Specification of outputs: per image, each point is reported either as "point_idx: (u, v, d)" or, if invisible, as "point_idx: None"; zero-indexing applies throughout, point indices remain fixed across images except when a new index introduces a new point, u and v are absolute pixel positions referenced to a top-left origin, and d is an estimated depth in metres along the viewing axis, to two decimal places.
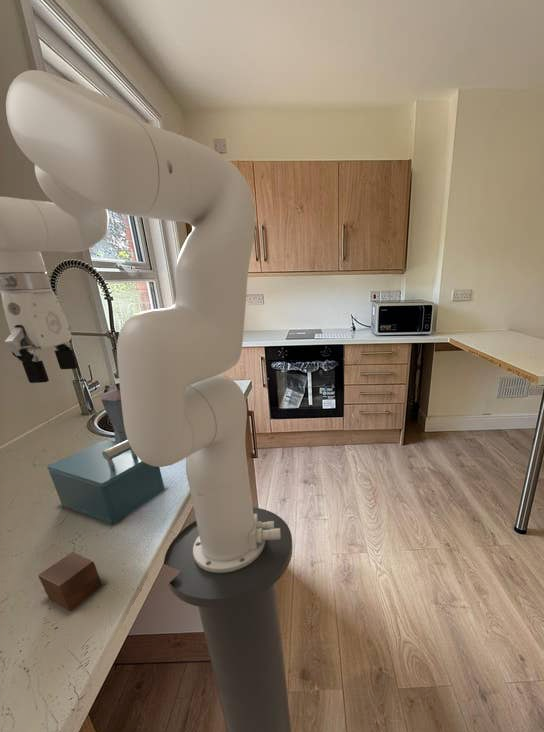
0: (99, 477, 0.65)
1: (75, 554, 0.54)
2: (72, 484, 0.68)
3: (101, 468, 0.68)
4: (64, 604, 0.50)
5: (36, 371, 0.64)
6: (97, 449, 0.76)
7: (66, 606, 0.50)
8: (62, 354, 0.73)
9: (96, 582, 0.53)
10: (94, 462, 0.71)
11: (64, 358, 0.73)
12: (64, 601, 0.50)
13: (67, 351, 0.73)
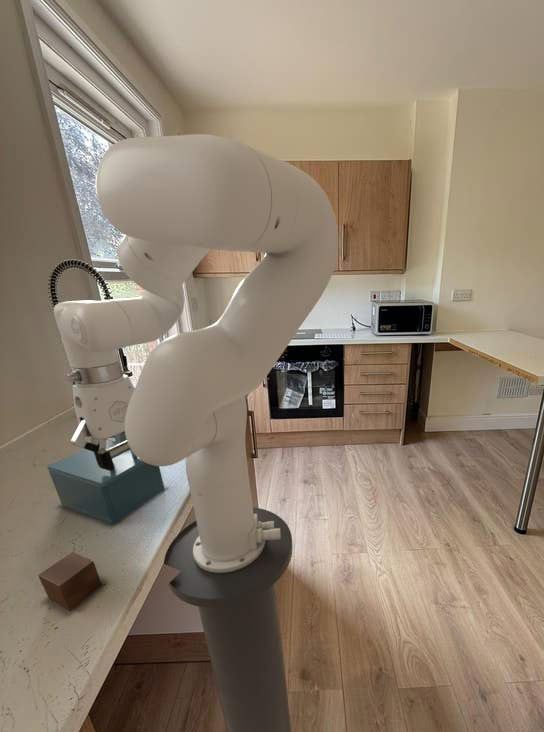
0: (99, 477, 0.65)
1: (75, 554, 0.54)
2: (72, 484, 0.68)
3: (101, 468, 0.68)
4: (64, 604, 0.50)
5: (102, 461, 0.64)
6: None
7: (66, 606, 0.50)
8: None
9: (96, 582, 0.53)
10: (94, 462, 0.71)
11: None
12: (64, 601, 0.50)
13: None
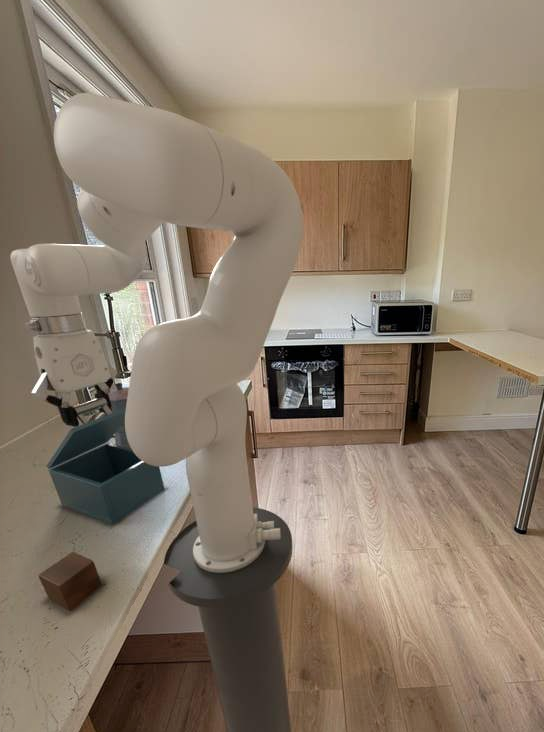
0: None
1: (75, 554, 0.54)
2: (72, 484, 0.68)
3: None
4: (64, 604, 0.50)
5: (65, 416, 0.64)
6: None
7: (66, 606, 0.50)
8: None
9: (96, 582, 0.53)
10: None
11: None
12: (64, 601, 0.50)
13: (102, 396, 0.69)
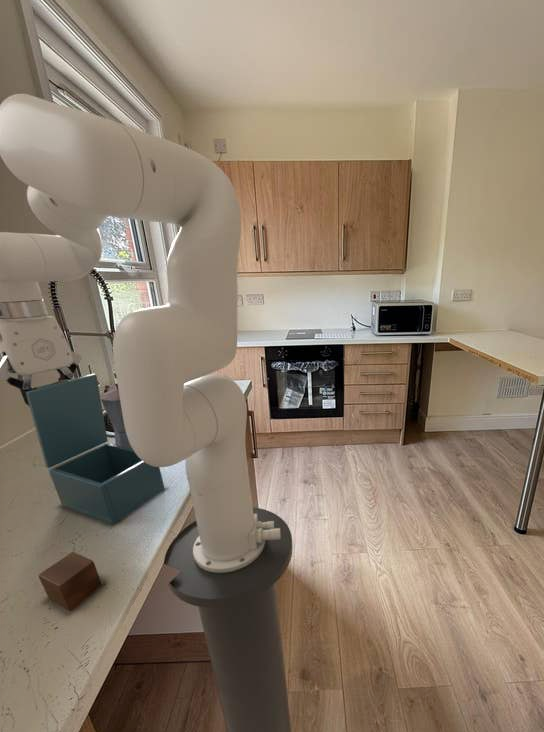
0: None
1: (75, 554, 0.54)
2: (72, 484, 0.68)
3: None
4: (64, 604, 0.50)
5: None
6: None
7: (66, 606, 0.50)
8: None
9: (96, 582, 0.53)
10: None
11: None
12: (64, 601, 0.50)
13: None
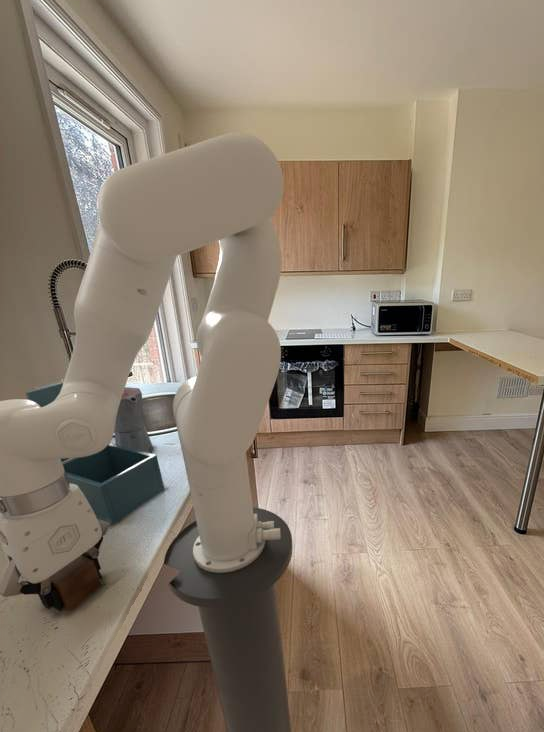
0: None
1: None
2: None
3: None
4: (64, 604, 0.50)
5: (46, 602, 0.49)
6: None
7: (66, 606, 0.50)
8: None
9: (96, 582, 0.53)
10: None
11: None
12: (64, 601, 0.50)
13: None
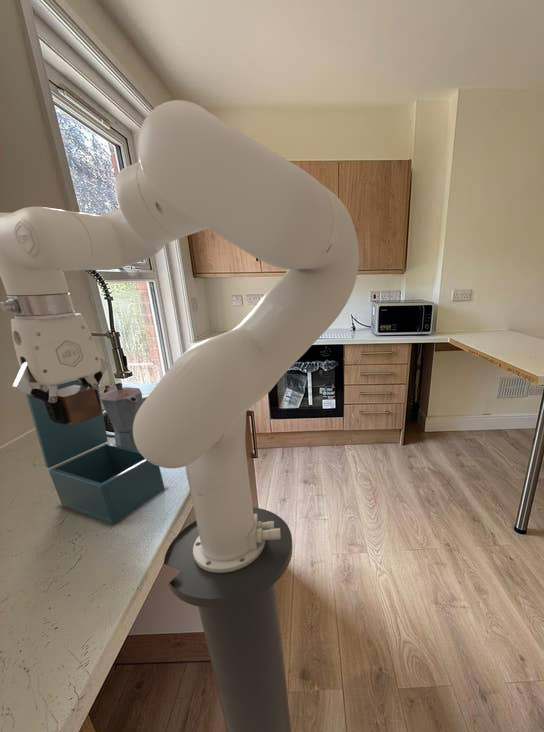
0: None
1: (77, 385, 0.61)
2: (72, 484, 0.68)
3: None
4: (68, 419, 0.57)
5: (53, 412, 0.56)
6: None
7: (70, 420, 0.57)
8: None
9: (96, 409, 0.60)
10: None
11: None
12: (68, 414, 0.57)
13: None
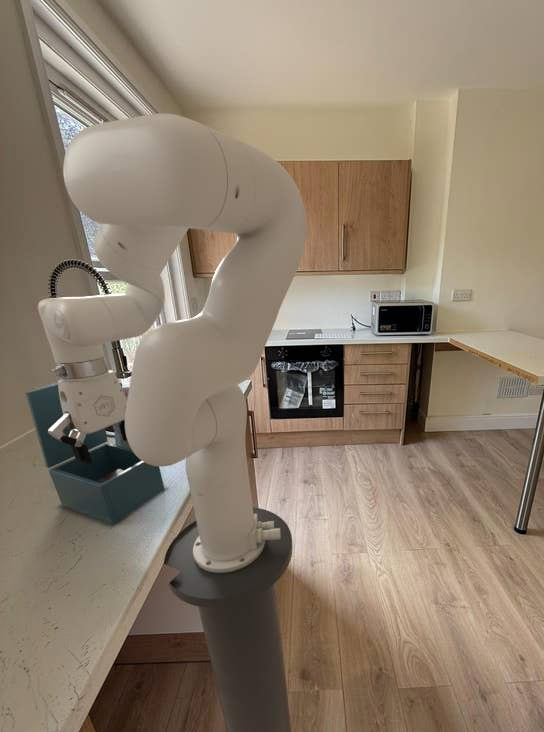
0: None
1: (120, 470, 0.75)
2: (72, 484, 0.68)
3: None
4: None
5: (79, 454, 0.64)
6: None
7: None
8: (123, 428, 0.73)
9: None
10: None
11: (125, 432, 0.73)
12: None
13: None
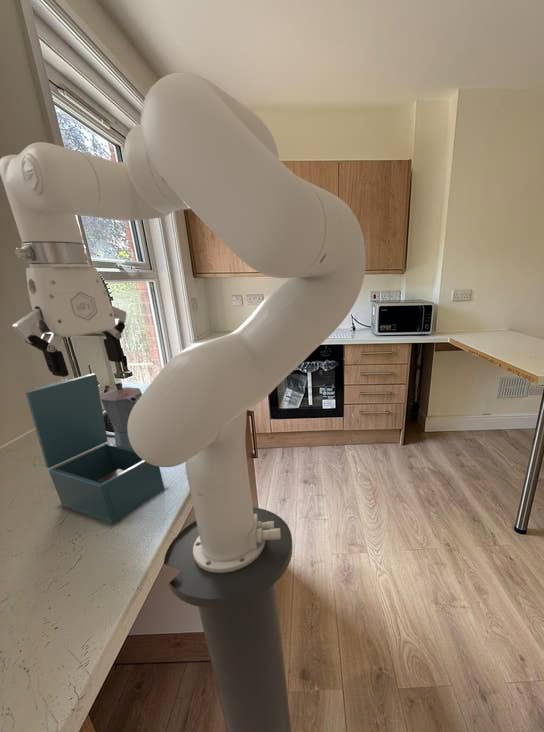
0: None
1: (120, 470, 0.75)
2: (72, 484, 0.68)
3: None
4: None
5: (52, 362, 0.53)
6: None
7: None
8: (109, 344, 0.62)
9: None
10: None
11: (111, 349, 0.62)
12: None
13: (113, 341, 0.61)
